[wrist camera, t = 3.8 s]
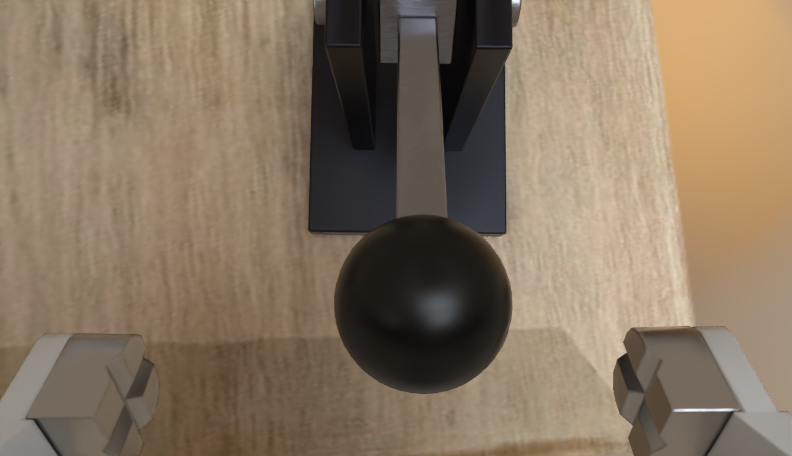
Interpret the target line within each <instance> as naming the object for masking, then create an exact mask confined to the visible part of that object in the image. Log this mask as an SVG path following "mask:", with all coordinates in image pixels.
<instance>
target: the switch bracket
mask: <svg viewBox="0 0 792 456" xmlns="http://www.w3.org/2000/svg"><path fill="white" fill-rule="evenodd" d="M313 6H314V27H313V66H312V105H311V144H310V183H309V222H308V231H309V232H310V233H312V234H337V235H367V234H368V233H369V232H371V231H372V230H373V229H375V228H376V227H378V226H380V225H382V224H384V223H385V222H388V221H391V220H393V219H396V193H397V71H398V63H380V61H379V21H378V0H313ZM520 9H521V0H459V3H458V12H457V21H456V31H455V40H454V49H453V58H452V62H451V64H440V82H441V102H442V121H443V141H444V161H445V181H446V200H447V218H449V219H452V220H455V221H457V222H460V223H462V224H464V225H465V226H467V227H469V228H471V229H472V230H474V231H475V232H477V233H478V234H479V235H480V236H502V235H504V234H506V137H505V62H506V60H507V57H508V55H509V53H510V51H511V49H512V27H515V26H516V24H517V22H518V19H519V15H520Z"/></svg>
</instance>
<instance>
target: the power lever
mask: <svg viewBox="0 0 792 456" xmlns="http://www.w3.org/2000/svg"><path fill="white" fill-rule="evenodd" d="M458 3H459V0H378V21H379V61H380V63H398V71H397V193H396V219H393V220H391V221H388V222H385V223H384V224H382V225H380V226H378V227H376V228H375V229H373V230H372V231H371V232H369V233H368V234H367V235H366V236H364V237H363V238H362V239H361V240H360V241H359V242H358V243H357V244H356V245H355V247H354V248H353V249H352V250H351V252H350V254H349V255H348V257H347V258H346V260H345V262H344V264H343V266H342V268H341V270H340V273H339V276H338V280H337V283H336V288H335V295H334V312H335V319H336V324H337V328H338V331H339V334H340V337H341V339H342V341H343V344H344V346H345V348H346V349H347V351H348V352H349V354H350V356H351V357H352V358H353V359H354V361H355V362H356V363H357V364H358V365H359V366H360V368H361V369H363V370H364V371H365V372H366V373H367V374H368V375H369V376H371V377H372V378H374V379H375V380H377V381H378V382H380V383H382V384H384V385H386V386H388V387H391V388H394V389H397V390H400V391H404V392H409V393H419V394H429V393H438V392H444V391H448V390H451V389H454V388H457V387H459V386H461V385H463V384H465V383H467V382H469V381H470V380H472V379H473V378H475V377H476V376H478V375H479V374H480V373H481V372H482V371H483V370H484V369H486V368H487V367H488V366H489V364H490V363H491V362H492V361H493V360H494V359H495V357H496V355H497V354H498V352H499V351H500V349H501V347H502V346H503V344H504V341H505V339H506V337H507V334H508V330H509V326H510V322H511V317H512V292H511V287H510V282H509V279H508V276H507V273H506V270H505V268H504V266H503V264H502V262H501V260H500V258H499V257H498V255H497V254H496V252H495V251H494V249H493V248H492V247H491V246H490V245H489V244H488V242H487V241H486V240H485V239H484V238H483V237H481V236H480V235H479V234H478V233H477V232H475V231H474V230H472V229H471V228H469V227H467V226H465V225H464V224H462V223H460V222H457V221H455V220H452V219H449V218H447V200H446V181H445V161H444V141H443V121H442V102H441V82H440V64H451V62H452V58H453V49H454V40H455V31H456V21H457V12H458Z"/></svg>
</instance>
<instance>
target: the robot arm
mask: <svg viewBox="0 0 792 456" xmlns="http://www.w3.org/2000/svg"><path fill="white" fill-rule="evenodd" d="M623 343H624V346H625V348H626V351H627V353H626V354H624V355H623V356H621V357H620V358H619V359H617V362H616V365H615V369H614V372H613V390H614V395H615V401H616V404H617V407H618V410H619V413H620V415H621V416H623V417H624V418H625V419H626V420H627V421H628V422H629V423H631V424H632V425H633V427H632V430H631V432H630V435H629V437H628V439H629V442H630V445H631V448H632V451H633V454H634V456H792V414H791V413H790V412H788V411H778V410H777V408H776V406H775V405H774V403H773V401H772V400H771V398H770V396H769V395H768V393H767V391H766V389H765V388H764V386H763V384H762V383H761V381H760V379H759V378H758V376H757V374H756V373H755V371H754V369H753V368H752V366H751V364H750V363H749V361H748V359H747V357H746V356H745V354H744V352H743V351H742V349H741V347H740V346H739V344H738V342H737V340H736V339H735V337H734V335H733V334H732V332H731V331H730V330H729V329H728V328H726V327H725V326H715V327H714V326H710V327H709V326H708V327H690V326H679V327H637V328H631V329H630V330H629V331H628V332H627V334H626V336H625V339H624V342H623ZM146 350H147V346H146V344H145V342H144V340H143V338H142V336H141V335H138V334H91V333H46V334H44V335H43V336H42V337H40V338H39V339H38V340H37V341H36V342H35V344H34V345H33V347H32V349H31V350H30V352H29V354H28V355H27V357H26V359H25V360H24V362H23V364H22V365H21V367H20V368H19V370H18V372H17V373H16V375H15V377H14V378H13V380H12V382H11V383H10V385H9V387H8V388H7V390H6V392H5V393H4V395H3V397H2V398H1V400H0V456H140V454H141V451H142V448H143V445H144V441H143V439H142V437H141V434H140V432H139V431H140V430H141V429H142V428H143V427H145V426H146V425H147V424H148V423H149V422H150V421H151V420H152V419H153V417H154V414H155V411H156V408H157V405H158V399H159V390H160V383H159V376H158V372H157V370H156V367H155V365H154V364H153V363H151V362H150V361H148V360H147V359H145V358H144V355H145V352H146Z"/></svg>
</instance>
